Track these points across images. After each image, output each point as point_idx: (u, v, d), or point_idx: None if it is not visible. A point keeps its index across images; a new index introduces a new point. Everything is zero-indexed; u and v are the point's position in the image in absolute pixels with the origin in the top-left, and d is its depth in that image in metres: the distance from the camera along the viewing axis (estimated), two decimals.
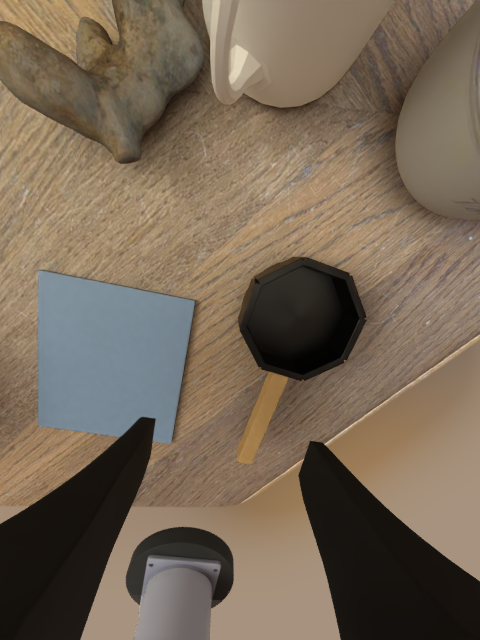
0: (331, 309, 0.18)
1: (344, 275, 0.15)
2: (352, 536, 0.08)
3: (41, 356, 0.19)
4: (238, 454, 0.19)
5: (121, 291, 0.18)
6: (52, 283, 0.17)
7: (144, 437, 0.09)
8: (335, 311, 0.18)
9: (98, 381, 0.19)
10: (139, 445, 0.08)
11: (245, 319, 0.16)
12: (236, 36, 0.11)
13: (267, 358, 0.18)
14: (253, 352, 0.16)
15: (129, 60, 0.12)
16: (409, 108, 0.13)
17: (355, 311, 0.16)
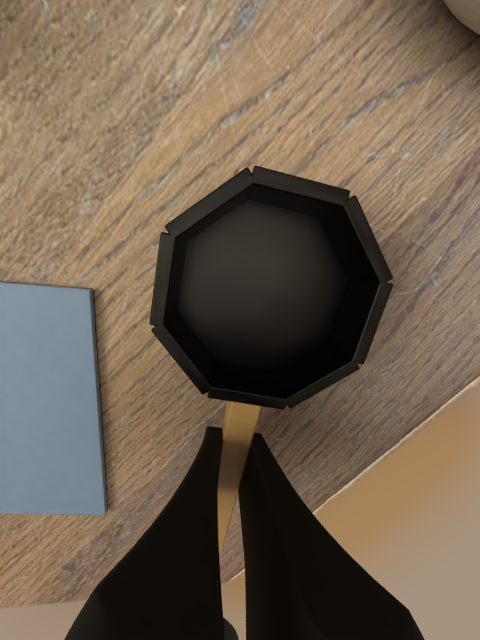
0: (325, 276, 0.10)
1: (340, 196, 0.08)
2: (262, 527, 0.07)
3: None
4: None
5: None
6: None
7: (221, 447, 0.09)
8: (333, 278, 0.10)
9: None
10: None
11: (157, 309, 0.08)
12: None
13: (222, 374, 0.10)
14: (186, 368, 0.09)
15: None
16: None
17: (370, 269, 0.08)
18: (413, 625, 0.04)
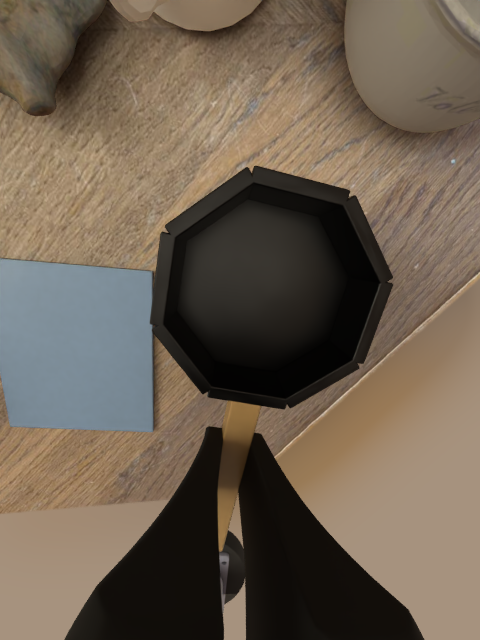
0: (326, 275, 0.10)
1: (340, 195, 0.08)
2: (262, 527, 0.07)
3: None
4: None
5: (70, 269, 0.16)
6: None
7: None
8: (333, 278, 0.10)
9: (64, 372, 0.18)
10: None
11: (157, 309, 0.08)
12: None
13: (222, 374, 0.10)
14: (186, 368, 0.09)
15: None
16: None
17: (370, 269, 0.08)
18: (413, 625, 0.04)
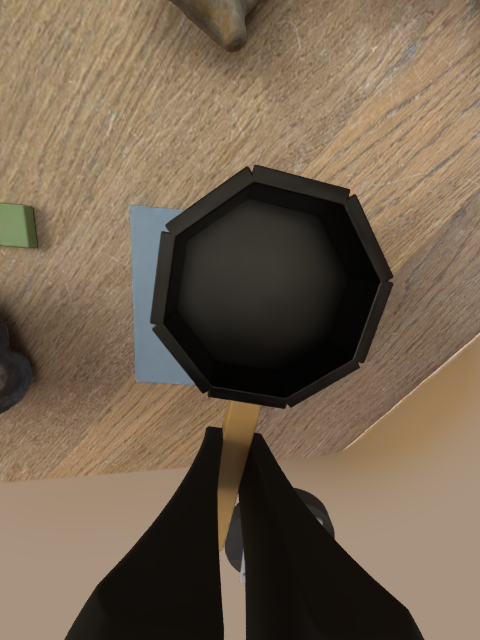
0: (326, 275, 0.10)
1: (340, 194, 0.08)
2: (262, 527, 0.07)
3: (136, 303, 0.18)
4: None
5: None
6: (144, 218, 0.16)
7: None
8: (333, 278, 0.10)
9: None
10: None
11: (157, 308, 0.08)
12: None
13: (222, 373, 0.10)
14: (186, 367, 0.09)
15: None
16: None
17: (370, 268, 0.08)
18: (413, 625, 0.04)
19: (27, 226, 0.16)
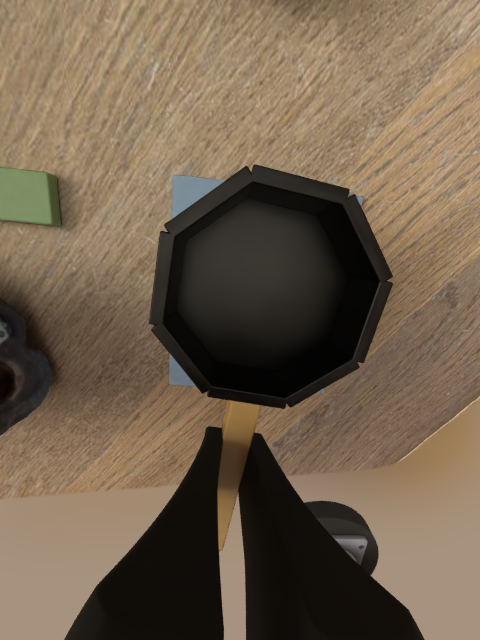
0: (325, 275, 0.10)
1: (339, 194, 0.08)
2: (262, 527, 0.07)
3: None
4: None
5: None
6: (189, 191, 0.14)
7: (221, 447, 0.09)
8: (333, 277, 0.10)
9: None
10: (220, 456, 0.09)
11: (156, 308, 0.08)
12: None
13: (222, 373, 0.10)
14: (186, 368, 0.09)
15: None
16: None
17: (370, 268, 0.08)
18: (413, 625, 0.04)
19: (50, 198, 0.13)
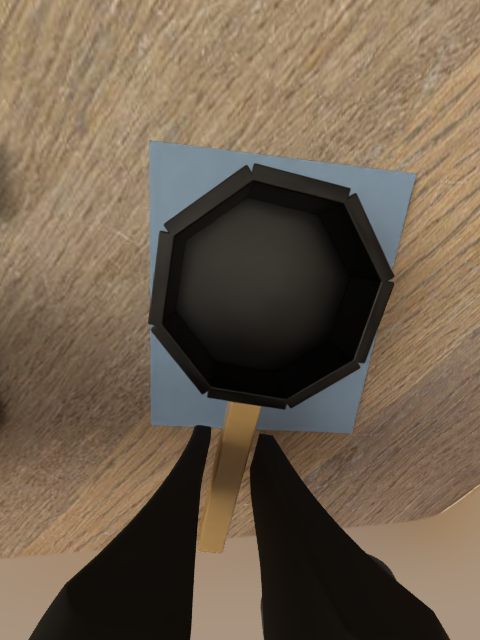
0: (326, 275, 0.10)
1: (340, 193, 0.07)
2: (279, 528, 0.07)
3: None
4: (199, 536, 0.11)
5: (291, 167, 0.10)
6: (173, 165, 0.10)
7: (208, 446, 0.09)
8: (333, 277, 0.10)
9: None
10: None
11: (156, 308, 0.08)
12: None
13: (222, 374, 0.10)
14: (185, 368, 0.09)
15: None
16: None
17: (371, 267, 0.08)
18: (440, 627, 0.04)
19: None
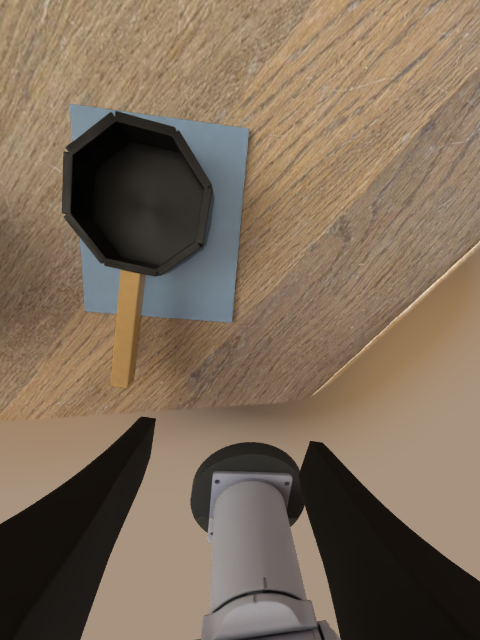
0: (190, 195, 0.16)
1: (169, 130, 0.13)
2: (352, 536, 0.08)
3: None
4: None
5: (164, 123, 0.15)
6: (86, 120, 0.15)
7: (144, 437, 0.09)
8: (196, 197, 0.16)
9: None
10: (139, 445, 0.08)
11: (65, 201, 0.13)
12: None
13: (120, 258, 0.15)
14: (88, 244, 0.14)
15: None
16: None
17: (198, 179, 0.14)
18: None
19: None
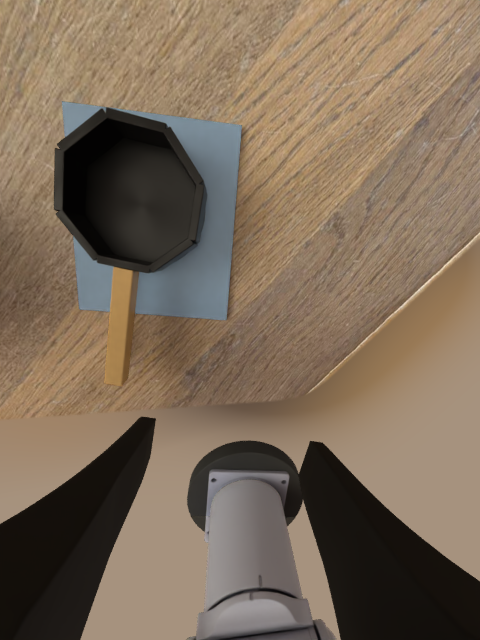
0: (183, 192, 0.16)
1: (160, 126, 0.13)
2: (352, 536, 0.08)
3: None
4: None
5: (157, 120, 0.15)
6: (79, 117, 0.15)
7: (144, 437, 0.09)
8: (189, 194, 0.16)
9: None
10: (139, 445, 0.08)
11: (57, 198, 0.13)
12: None
13: (113, 256, 0.15)
14: (80, 241, 0.14)
15: None
16: None
17: (189, 175, 0.14)
18: None
19: None
